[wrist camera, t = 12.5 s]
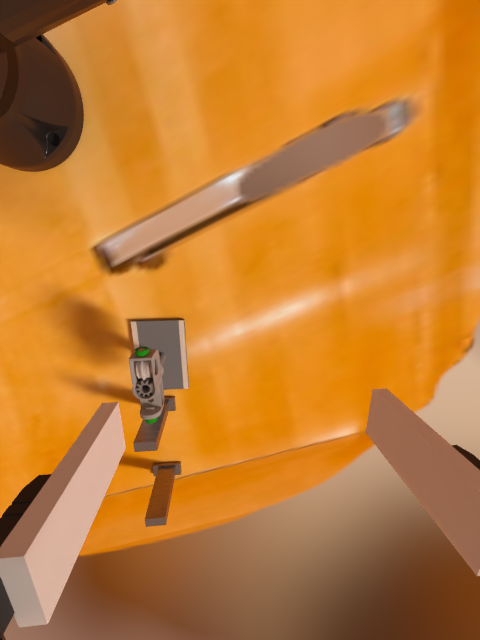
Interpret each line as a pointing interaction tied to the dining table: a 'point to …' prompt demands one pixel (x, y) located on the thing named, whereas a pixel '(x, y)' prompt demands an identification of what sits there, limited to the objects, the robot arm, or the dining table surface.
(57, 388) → the dining table surface
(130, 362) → the mechanical component
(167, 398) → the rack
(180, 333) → the mat
